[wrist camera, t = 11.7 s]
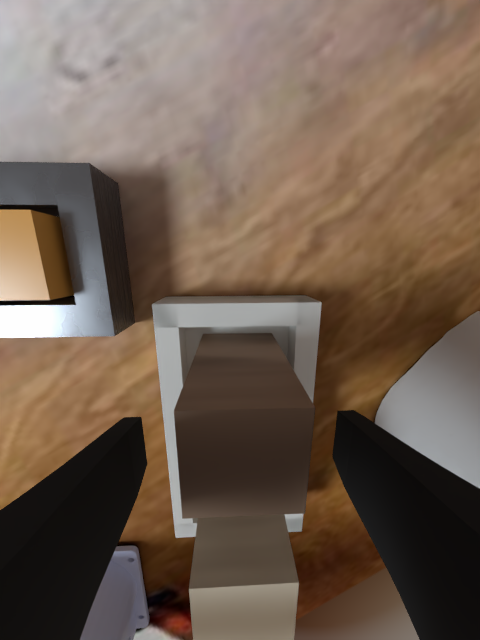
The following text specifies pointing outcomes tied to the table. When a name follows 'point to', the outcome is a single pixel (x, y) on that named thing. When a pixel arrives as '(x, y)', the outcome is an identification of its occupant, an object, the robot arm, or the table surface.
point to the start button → (32, 257)
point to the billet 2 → (243, 579)
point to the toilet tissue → (441, 402)
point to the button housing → (72, 250)
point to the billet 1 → (242, 430)
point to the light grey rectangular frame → (222, 318)
